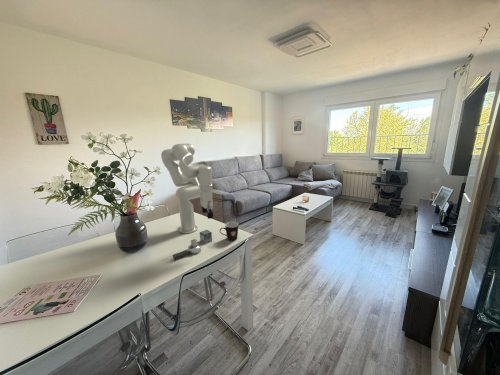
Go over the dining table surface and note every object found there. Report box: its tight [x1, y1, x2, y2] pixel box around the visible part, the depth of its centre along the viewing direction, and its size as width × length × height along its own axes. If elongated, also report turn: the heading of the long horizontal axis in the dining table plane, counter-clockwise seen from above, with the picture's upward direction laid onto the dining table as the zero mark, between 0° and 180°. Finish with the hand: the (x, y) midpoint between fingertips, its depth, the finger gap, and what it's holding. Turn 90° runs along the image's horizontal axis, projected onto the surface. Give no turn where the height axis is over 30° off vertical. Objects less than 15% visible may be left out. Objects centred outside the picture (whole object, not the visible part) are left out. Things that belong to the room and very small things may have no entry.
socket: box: [199, 229, 213, 245], centre depth 130 cm, size 5×5×6 cm
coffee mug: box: [219, 221, 239, 242], centre depth 132 cm, size 12×9×10 cm
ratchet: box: [172, 238, 202, 262], centre depth 116 cm, size 7×16×7 cm, turn 132°
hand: (207, 215), depth 122 cm, fingers open, 9 cm apart
